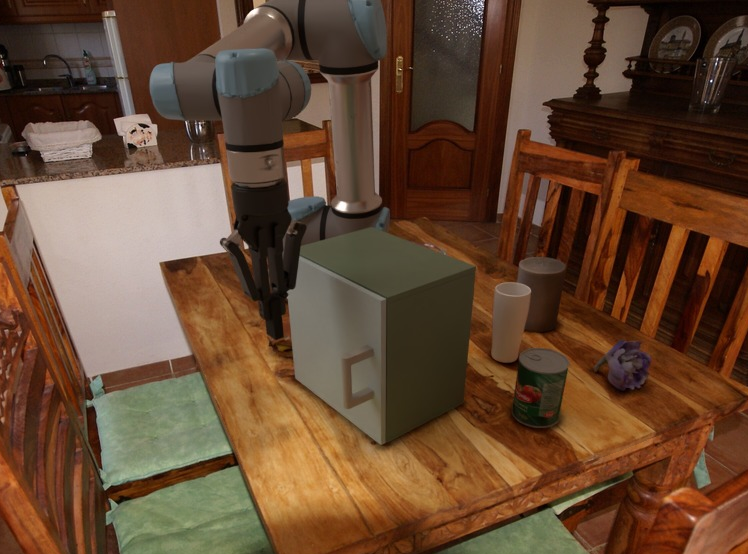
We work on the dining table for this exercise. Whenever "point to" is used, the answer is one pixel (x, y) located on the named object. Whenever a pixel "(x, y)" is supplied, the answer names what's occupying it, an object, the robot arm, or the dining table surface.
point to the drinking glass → (509, 320)
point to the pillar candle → (542, 291)
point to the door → (340, 345)
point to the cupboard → (410, 318)
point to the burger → (282, 342)
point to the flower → (626, 365)
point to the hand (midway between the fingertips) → (275, 335)
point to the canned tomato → (539, 387)
